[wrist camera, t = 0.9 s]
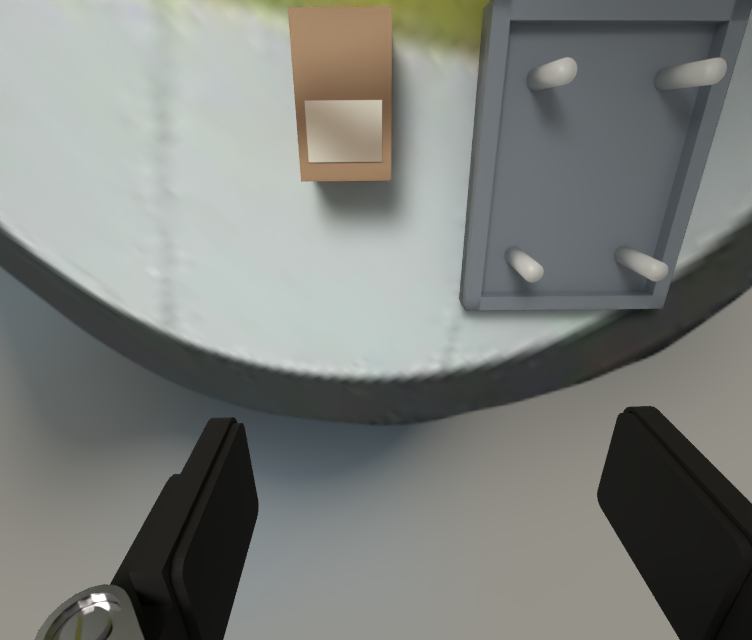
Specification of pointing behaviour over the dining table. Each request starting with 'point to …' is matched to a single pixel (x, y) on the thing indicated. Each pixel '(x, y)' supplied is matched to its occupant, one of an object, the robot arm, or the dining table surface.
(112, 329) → the dining table surface
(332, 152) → the labeled cardboard box
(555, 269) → the tray
